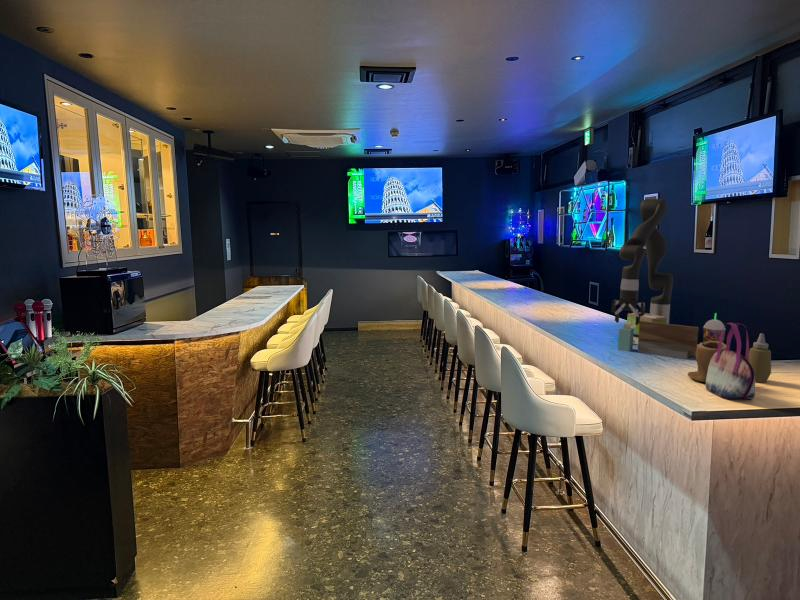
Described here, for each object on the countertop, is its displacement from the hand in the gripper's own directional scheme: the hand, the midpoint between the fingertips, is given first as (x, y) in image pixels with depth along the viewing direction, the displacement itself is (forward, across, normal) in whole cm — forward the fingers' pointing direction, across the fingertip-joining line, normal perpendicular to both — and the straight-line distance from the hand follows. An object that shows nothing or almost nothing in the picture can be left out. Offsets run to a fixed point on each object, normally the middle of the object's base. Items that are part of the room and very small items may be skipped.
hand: (626, 323), depth 243 cm
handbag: (+13, -47, +46) cm, 67 cm away
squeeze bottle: (+13, -53, +20) cm, 58 cm away
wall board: (+12, -16, -4) cm, 21 cm away
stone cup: (+13, -40, +32) cm, 53 cm away
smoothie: (+12, -34, -8) cm, 37 cm away
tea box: (+12, -4, -18) cm, 23 cm away
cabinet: (+12, 0, 0) cm, 12 cm away
